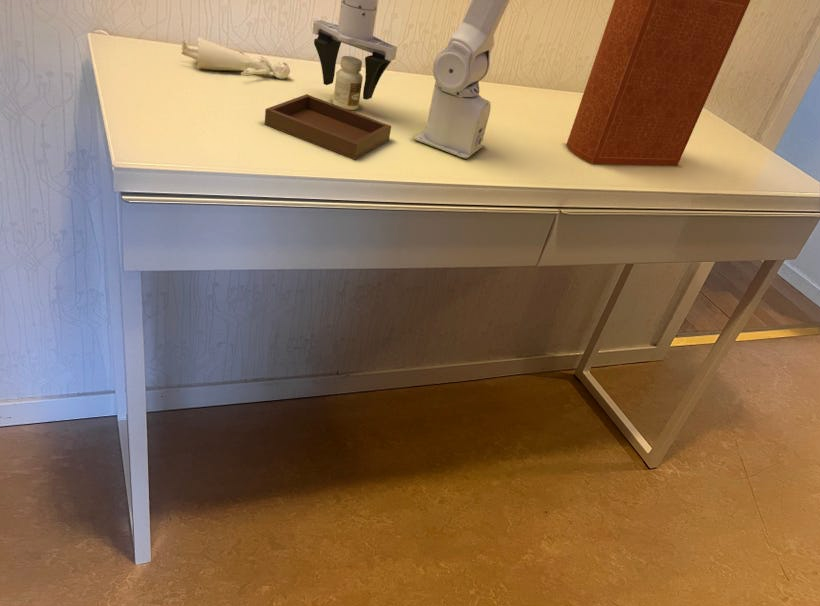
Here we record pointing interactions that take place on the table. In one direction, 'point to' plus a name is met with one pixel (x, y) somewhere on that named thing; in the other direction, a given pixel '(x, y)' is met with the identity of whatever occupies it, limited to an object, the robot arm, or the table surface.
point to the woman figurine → (231, 60)
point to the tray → (328, 125)
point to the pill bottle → (348, 83)
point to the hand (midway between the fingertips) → (347, 90)
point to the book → (652, 79)
